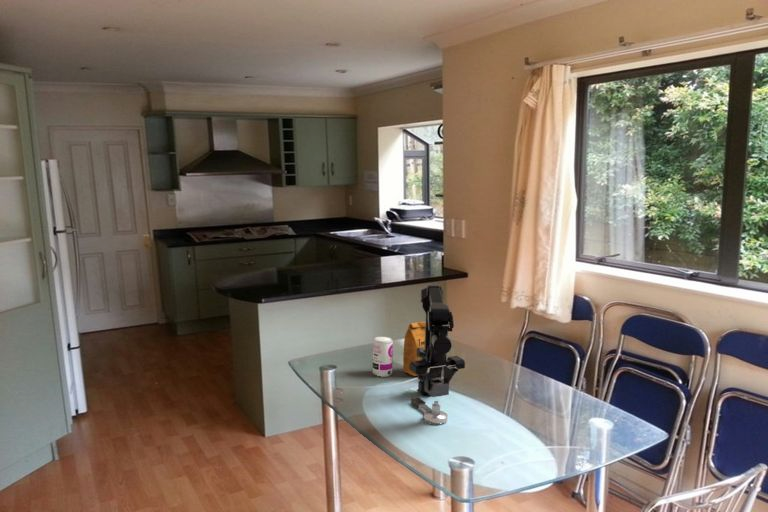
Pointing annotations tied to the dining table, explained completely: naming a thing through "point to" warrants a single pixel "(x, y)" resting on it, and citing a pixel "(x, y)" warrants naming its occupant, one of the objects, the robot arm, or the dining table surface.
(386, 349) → the supplement can
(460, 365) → the robot arm
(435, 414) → the ratchet
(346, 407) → the dining table surface
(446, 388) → the socket
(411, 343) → the coffee package
